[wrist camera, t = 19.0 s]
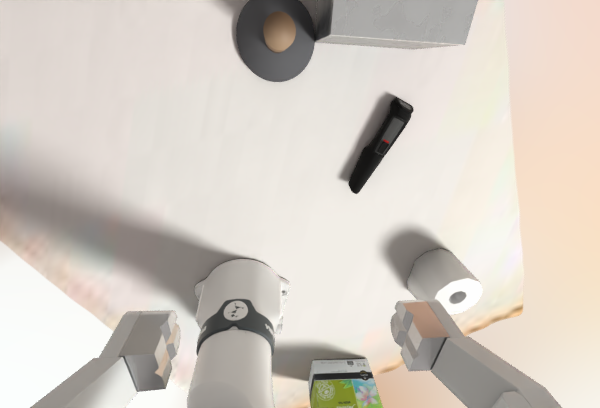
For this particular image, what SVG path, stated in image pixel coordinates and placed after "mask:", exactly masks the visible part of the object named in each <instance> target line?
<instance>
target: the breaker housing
mask: <svg viewBox="0 0 600 408" xmlns="http://www.w3.org/2000/svg"><path fill="white" fill-rule="evenodd" d="M477 2H478V0H317V5H316V20H315V42H318V43H333V44H347V45H361V46H375V47H389V48H403V49H422V48H434V47H445V46H456V45H465V43H466V39H467V36H468V32H469V29H470V26H471V22H472V19H473V15H474V12H475V9H476V5H477Z"/></svg>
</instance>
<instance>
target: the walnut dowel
mask: <svg viewBox="0 0 600 408" xmlns="http://www.w3.org/2000/svg"><path fill="white" fill-rule="evenodd" d="M263 33H264V38H265V42H266V45H267V47H268V49H269V50H270V51H272V52H274V53H281V52H283V51H284V50H286V49H287V48H288V47H289V46H290V45H291V44H292V43H293V41H294V39H295V35H296V28H295V24H294V21H293V20H292V18H291V17H290V16H289V15H288V14H286V13H285V12H281V11H277V12H273V13H271V14H270V15H269V16H268V17H267V18H266V20H265V23H264V27H263Z"/></svg>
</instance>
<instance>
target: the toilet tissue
mask: <svg viewBox="0 0 600 408" xmlns="http://www.w3.org/2000/svg"><path fill="white" fill-rule="evenodd" d="M407 285H408V290H409V291H410V293H411V294H412V295H413V296H414V297H415V298H416V299H417V300H432V299H437V300H438V301H440V303H441V304H442V305H443V307H444V308H445V310H446V311H447V312H448V314H449V315H453V314H457V313H462V312H464V311H466V310H467V309H469V308H470V307H472V306H473V305H475V304H476V303H477V302H478V300H479V298H480V296H481V295H482V293H483V290H482V287H481V284H480V282H479V281H478V280H477V279H476V277H475V276H474V275H473V274H472V273H471V272H470V271H469V270H468V269H467V268H466V267H465V266H464V265H463V264H462V263H461V262H460V261H459V260H458V259H457V258H456V257H455V255H454V254H453V253H452V252H449V251H447V250H444V249H441V248H440V249H435V250H431V251H427V252H425V253H424V254H423V255H421V256H420V257H419V258H418V259H416V260H415V262H414V265H413V267H412V270H411V272H410V275H409V278H408V280H407Z"/></svg>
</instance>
